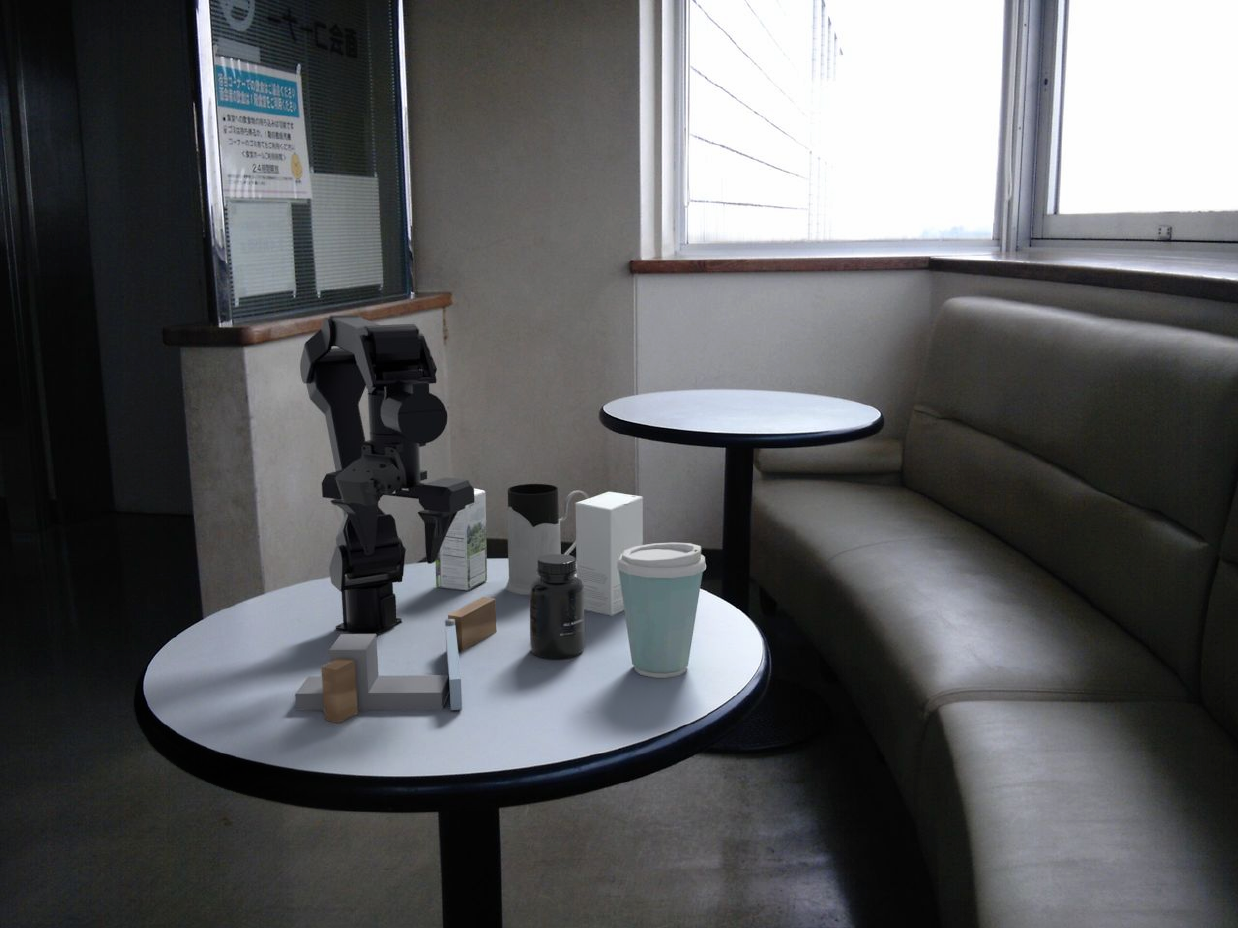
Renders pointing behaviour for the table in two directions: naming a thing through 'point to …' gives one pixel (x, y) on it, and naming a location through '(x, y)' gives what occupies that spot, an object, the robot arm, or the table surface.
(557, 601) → the supplement bottle
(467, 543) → the syrup box
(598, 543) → the skincare box
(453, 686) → the door leaf
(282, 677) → the table surface
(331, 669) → the wooden blocks
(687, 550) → the disposable coffee cup
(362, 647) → the gray t-shaped pedestal
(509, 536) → the glass holder
